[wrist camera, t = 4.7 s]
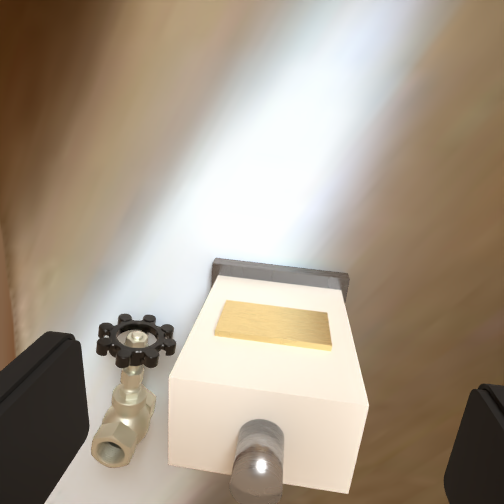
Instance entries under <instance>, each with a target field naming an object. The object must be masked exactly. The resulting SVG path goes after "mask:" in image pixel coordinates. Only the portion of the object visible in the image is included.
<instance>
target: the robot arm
mask: <svg viewBox="0 0 504 504" xmlns="http://www.w3.org/2000/svg"><path fill="white" fill-rule="evenodd" d="M88 432H89V417H88V407H87V398H86V388H85V379H84V370H83V360H82V351H81V344H80V342H79V341H77V340H75V337H74V336H73V335H72V334H69V333H61V332H52V331H49V332H46V333H44V334H43V335H42V336H41V337H40V338H38V339H37V340H36V341H35V342H34V343H33V344H32V345H30V346H29V347H28V348H27V349H26V350H25V351H23V352H22V353H21V354H20V355H19V356H18V357H17V358H15V359H14V360H13V361H12V362H11V363H10V364H8V365H7V366H6V367H5V368H4V369H3V370H2V371H0V504H44V503H45V501H46V500H47V498H48V497H49V495H50V494H51V492H52V491H53V489H54V488H55V486H56V485H57V483H58V482H59V480H60V478H61V477H62V475H63V474H64V472H65V471H66V469H67V468H68V466H69V465H70V463H71V462H72V460H73V459H74V457H75V455H76V454H77V452H78V451H79V449H80V448H81V446H82V445H83V443H84V442H85V440H86V438H87V435H88ZM444 488H445V492H446V495H447V498H448V501H449V503H450V504H504V386H501V385H492V384H481V385H480V386H479V388H478V389H473V390H472V391H471V393H470V395H469V398H468V401H467V405H466V408H465V411H464V414H463V417H462V420H461V424H460V427H459V430H458V433H457V436H456V440H455V443H454V446H453V449H452V452H451V455H450V459H449V462H448V465H447V468H446V471H445V475H444Z"/></svg>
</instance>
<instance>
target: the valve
mask: <svg viewBox="0 0 504 504" xmlns="http://www.w3.org/2000/svg"><path fill="white" fill-rule="evenodd" d="M155 321H156V318H155V316H153V315H145V316H144V317H143V320H141V321H134V320H132V317H131V316H130V315H129V314H121V315H119V317H118V325H116V326H113V325H112V324H110V323H102V324H100V325H99V332H98V337H99V338H100V339H99V340H98V341H97V347H96V353H97V354H98V355H101V356H106V355H107V350H109V353H110V354H111V355H112V356H113V357H115V358H116V361H115V364H116V366H117V367H119V368H123V369H122V373H121V384H119V385H118V386H116V387H115V389H114V390H113V394H112V406H111V407H110V408H109V409H108V411H107V412H106V414H105V416H104V418H103V421H102V425H101V426H100V428H99V429H98V431H97V433H96V434H95V436H94V438H93V441H92V447H91V454H92V456H93V457H94V458H95V459H96V460H97V461H98V462H100V463H101V464H103V465H105V466H107V467H110V468H117V467H122V466H126V465H128V464H129V462H130V460H131V458H132V456H133V454H134V452H135V450H136V445H137V444H139V443H140V442H141V441H142V440H143V438H144V437H145V435H146V434H147V432H148V429H149V425H150V418H151V416H152V414H153V412H154V409H155V403H156V395H155V394H153V393H152V392H151V391H150V390H148V389H147V388H146V387H145V386H143V385H142V384H141V382H142V380H143V375H144V367H143V366H142V364H144V365H145V366H146V367H148V368H154V367H156V366H157V365H158V360H159V351H160V350H161V349H162V350H165V351H166V356H171V355H173V354H174V353H175V348H176V341H175V340H173V339H172V337H173V331H174V327H173V326H172V325H169V324H165V325H163V326H161V327H158V326H156V325H155ZM128 330H142V331H133V332H130V333H129V334H128V336H127V337H126V342H125V343H124V345H123V344H121V343H120V342H119V341H118V340H117V336H118V335H119V334H121V333H123V332H125V331H128ZM149 332H150V333H151V334H153V335H154V336H155V337H156V339H157V341H156V343H154V344H153V345H151V346H148V333H149ZM105 335H107V336H109V338H104V337H105ZM165 336H166V337H167V339H165Z"/></svg>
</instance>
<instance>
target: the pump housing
mask: <svg viewBox="0 0 504 504" xmlns="http://www.w3.org/2000/svg"><path fill="white" fill-rule="evenodd" d="M349 280H350V279H349V276H348V273H339V272H331V271H322V270H314V269H305V268H297V267H289V266H280V265H272V264H263V263H255V262H246V261H238V260H229V259H221V258H215V260H214V262H213V268H212V288H211V291H210V293H209V295H208V297H207V299H206V301H205V303H204V305H203V307H202V309H201V312H200V314H199V316H198V318H197V320H196V322H195V324H194V326H193V328H192V330H191V332H190V334H189V336H188V338H187V340H186V343H185V345H184V347H183V349H182V351H181V353H180V355H179V357H178V359H177V361H176V363H175V365H174V367H173V369H172V371H171V373H170V376H169V409H168V465H172V466H178V467H184V468H191V469H197V470H203V471H209V472H216V473H222V474H228V475H231V479H230V485H229V489H230V492H231V495H232V496H233V498H234V499H235V500H236V501H238V502H239V503H240V504H276V503H278V502H279V500H280V499H281V497H282V486H283V483H284V484H290V485H296V486H303V487H309V488H315V489H321V490H328V491H334V492H340V493H346V494H348V493H349V488H350V484H351V480H352V476H353V471H354V467H355V463H356V459H357V455H358V450H359V446H360V442H361V438H362V433H363V429H364V425H365V421H366V416H367V412H368V408H369V403H368V399H367V395H366V391H365V387H364V383H363V379H362V374H361V370H360V366H359V362H358V358H357V354H356V350H355V345H354V341H353V337H352V333H351V329H350V325H349V320H348V316H347V312H346V308H345V301H346V296H347V291H348V285H349Z"/></svg>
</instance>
